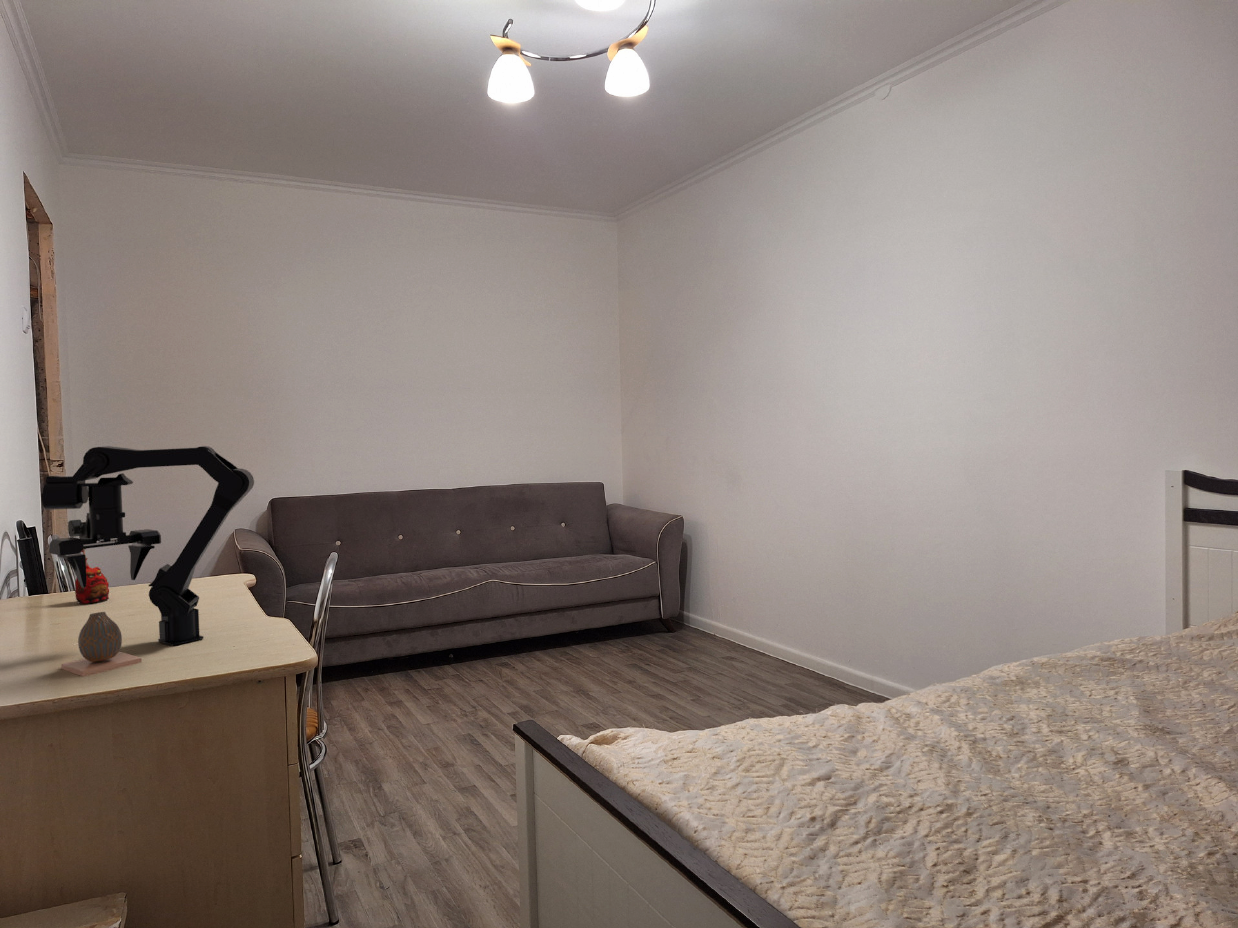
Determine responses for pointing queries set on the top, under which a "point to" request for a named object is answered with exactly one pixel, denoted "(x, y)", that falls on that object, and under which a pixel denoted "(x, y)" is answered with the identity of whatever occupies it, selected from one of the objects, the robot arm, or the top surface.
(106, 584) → the red clay folk toy
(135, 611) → the top surface
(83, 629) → the vase
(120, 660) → the tile
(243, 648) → the top surface
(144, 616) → the top surface
